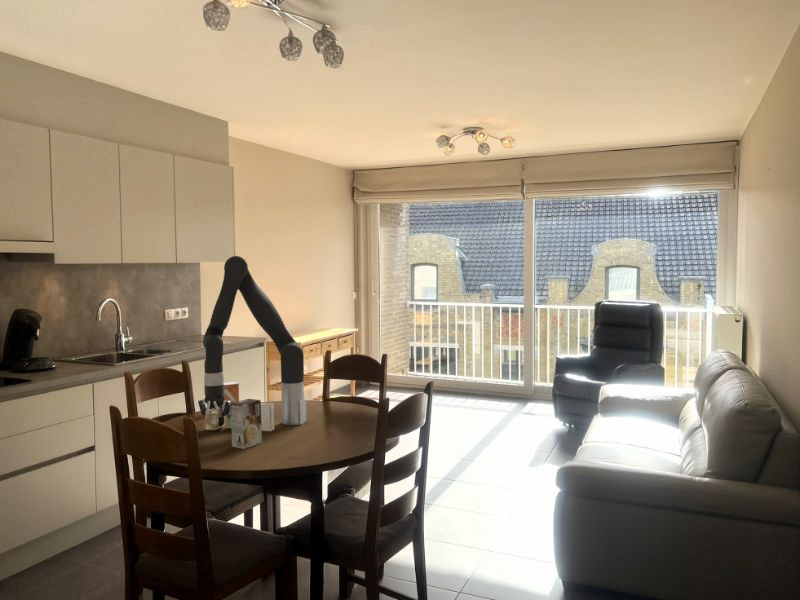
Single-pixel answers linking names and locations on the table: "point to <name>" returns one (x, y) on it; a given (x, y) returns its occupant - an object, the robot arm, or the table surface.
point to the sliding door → (229, 419)
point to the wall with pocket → (267, 416)
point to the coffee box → (246, 423)
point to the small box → (231, 392)
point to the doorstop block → (213, 421)
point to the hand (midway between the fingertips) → (215, 425)
